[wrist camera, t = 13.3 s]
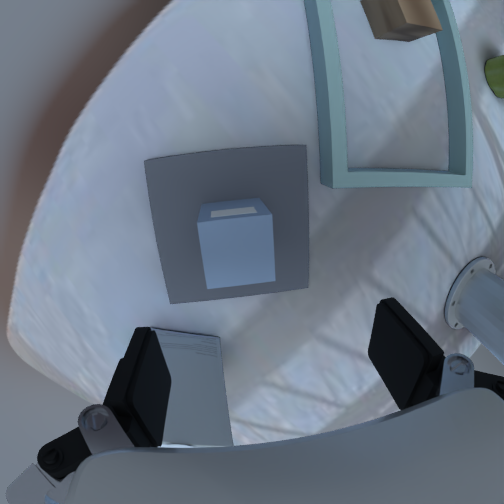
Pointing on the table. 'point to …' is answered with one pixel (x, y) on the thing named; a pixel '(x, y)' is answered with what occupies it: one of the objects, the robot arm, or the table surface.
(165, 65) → the table surface
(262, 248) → the slate box
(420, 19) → the walnut block
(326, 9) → the tray
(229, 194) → the mat
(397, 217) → the table surface
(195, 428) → the skincare box
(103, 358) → the table surface
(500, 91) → the plant pot
